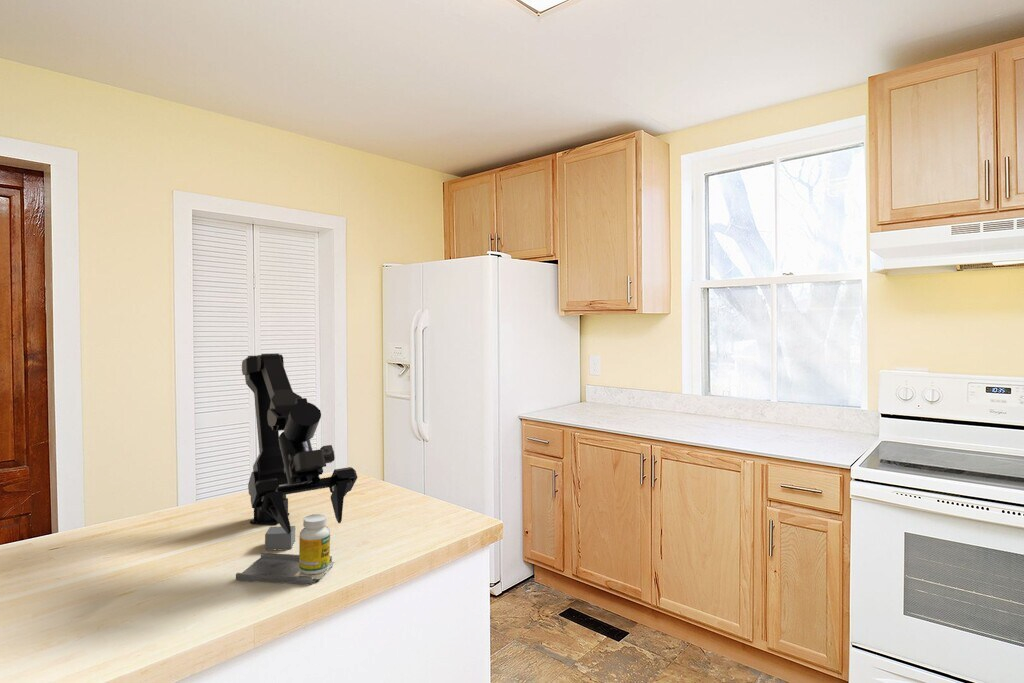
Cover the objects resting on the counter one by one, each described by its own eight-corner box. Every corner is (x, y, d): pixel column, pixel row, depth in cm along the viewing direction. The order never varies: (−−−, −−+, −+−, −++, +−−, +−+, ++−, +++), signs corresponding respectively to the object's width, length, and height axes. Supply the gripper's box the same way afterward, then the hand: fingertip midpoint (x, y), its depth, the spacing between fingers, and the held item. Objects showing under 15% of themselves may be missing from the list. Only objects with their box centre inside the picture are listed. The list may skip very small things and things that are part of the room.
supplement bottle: (304, 562, 106) (305, 512, 106) (333, 562, 106) (334, 512, 106) (294, 575, 101) (295, 522, 100) (324, 575, 101) (325, 523, 101)
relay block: (265, 551, 113) (265, 534, 113) (270, 543, 117) (270, 526, 117) (291, 549, 114) (291, 533, 113) (295, 542, 118) (295, 525, 117)
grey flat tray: (235, 580, 100) (235, 573, 100) (261, 559, 109) (261, 552, 109) (317, 584, 99) (317, 578, 99) (336, 562, 108) (336, 556, 108)
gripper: (254, 437, 100) (269, 516, 92) (354, 427, 112) (376, 496, 103) (244, 470, 107) (258, 546, 99) (340, 457, 118) (359, 524, 110)
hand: (315, 527), depth 103 cm, fingers open, 9 cm apart
